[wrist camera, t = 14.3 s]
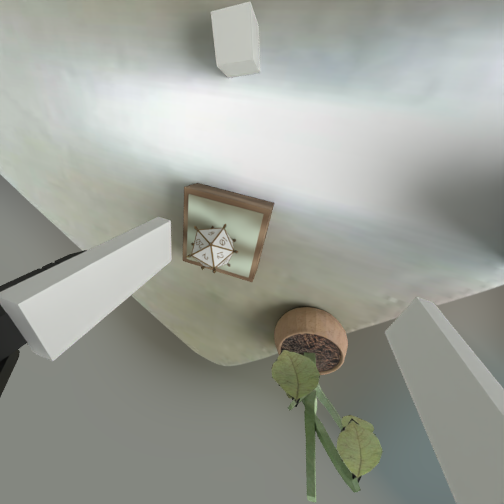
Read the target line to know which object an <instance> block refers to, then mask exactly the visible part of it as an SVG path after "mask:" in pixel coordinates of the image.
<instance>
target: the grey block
mask: <svg viewBox="0 0 504 504" xmlns="http://www.w3.org/2000/svg"><path fill="white" fill-rule="evenodd" d="M211 19H212V28H213V37H214V47H215V56H216V65H217V67H218V68H219V69H220V70H221V71H222V72H223V73H224V74H225V75H226V76H227V77H228V78H233V77H239V76H245V75H251V74H257V73H260V52H259V25H258V22H257V19H256V16H255V13H254V10H253V7H252V4H251V1H250V2H246V3H242V4H238V5H235V6H231V7H227V8H223V9H219V10H215V11H211Z"/></svg>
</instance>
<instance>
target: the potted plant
mask: <svg viewBox="0 0 504 504" xmlns="http://www.w3.org/2000/svg"><path fill="white" fill-rule="evenodd" d="M274 340H275V345H276V347H277V350H278V354H279V357H278V358H277V360H276V361H275V362H274V364H273V365H272V378H273V379H274V380H275V381H276V382H277V383H278V384H279V386H281V387H282V388H283V390H285V392H286V394H287V396H288V397H289V398H292V400H293V401H292V403H291V404H290V406H289V407H288V409H289V410H291V409H293V408H294V407H297V405H298V403H299V402H301V401H302V402H303V404H304V405H305V433H306V476H307V500H309V501H312V502H316V480H315V479H316V478H315V431H316V432H317V435H318V437H319V439H320V441H321V443H322V445H323V446H324V448H325V450H326V452H327V454H328V456H329V457H330V459H331V461H332V463H333V464H334V466H335V468H336V469H337V471H338V472H339V474H340V475H341V477H342V478H343V480H344V481H345V482H346V484H347V485H348V486H349V487H350V488H351V489H352V491H353V492H358V491H360V487H359V484H358V483H359V480H360V478H361V476H362V475H364V474H366V473H368V472H370V471H371V470H372V469H373V468H374V467H375V466H376V465H377V464H378V463H379V460H380V458H381V455H382V448H381V446H380V443H379V440H378V438H377V437H376V435H375V434H374V433H372V432H373V431H374V428H373V425H372V424H370V423H368V422H367V421H365V420H362V419H360V418H357V417H354V416H352V415H348V416H344V417H342V419H341V417H340V416H339V414H338V413H337V411H336V410H335V408H334V407H333V405H332V404H331V402H330V401H329V400H328V399H327V398H326V396H325V395H324V393H323V391H322V389H321V388H320V386H319V384H318V381H319V377H320V375H324V374H329V373H331V372H334V371H336V370H337V369H339V368H340V367H341V365H342V364H343V362H344V358H345V355H346V351H347V346H348V341H347V336H346V332H345V330H344V329H343V327H342V325H341V324H340V322H339V321H338V320H337V319H336V318H334V317H333V316H332V315H331V314H329V313H327V312H325V311H324V310H320V309H317V308H311V307H302V308H296V309H293V310H290V311H288V312H287V313H285V314H284V315H283V316H282V317H281V318H280V320H279V321H278V322H277V325H276V328H275V331H274ZM316 396H317V397H318V399H319V400H320V401H321V403H322V404H323V405H324V406H325V407H326V408H327V410H328V411H329V413H330V414H331V416H332V417H333V419H334V420H335V422H336V423H337V424H338V426H339V427H340V429H341V433H340V434H339V436H338V441H337V450H336V448H335V447H334V445H333V443H332V441H331V439H330V437H329V435H328V433H327V432H326V430H325V428H324V426H323V424H322V423H321V422H320V420H319V419H318V417H317V416H316V410H317V400H316ZM337 451H338V452H337ZM338 453H339V454H340V455H339V454H338ZM340 456H341V457H340ZM343 461H344V462H343ZM344 463H345V464H346V465H345V464H344ZM347 467H348V468H349V469H348V468H347ZM349 470H350V471H351V472H352V473H351V472H350V471H349Z"/></svg>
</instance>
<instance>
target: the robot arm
mask: <svg viewBox="0 0 504 504" xmlns="http://www.w3.org/2000/svg"><path fill="white" fill-rule="evenodd" d="M170 261H171V220H168V219H164V218H161V217H157V218H154V219H152V220H150V221H148V222H146V223H144V224H142V225H140V226H138V227H136V228H133V229H131V230H129V231H127V232H125V233H123V234H121V235H119V236H117V237H115V238H112V239H110V240H108V241H106V242H104V243H102V244H100V245H98V246H96V247H94V248H92V249H89V250H85V251H81V252H77V253H73V254H70V255H67V256H65V257H63V258H61V259H58V260H56V261H55V263H50V264H48V265H45V266H43V267H42V269H37V270H34V271H32V272H30V273H28V274H26V275H23V276H21V277H19V278H17V279H15V280H13V281H10V282H8V283H6V284H4V285H2V286H0V397H1V394H2V392H3V390H4V388H5V386H6V384H7V382H8V379H9V377H10V375H11V373H12V371H13V368H14V366H15V364H16V362H17V360H18V357H19V353H20V352H19V350H18V349H19V348H20V347H21V346H23V345H24V344H26V343H27V344H28V345H29V347H30V348H31V350H32V351H33V353H35V354H37V355H40V356H42V357H44V358H46V359H49V360H51V361H54V360H55V359H56V358H57V357H58V356H60V355H61V354H62V353H63V352H64V351H66V349H68V348H69V347H70V346H71V345H73V344H74V343H75V342H76V341H77V340H78V339H80V338H81V337H82V336H83V335H84V334H85V333H87V332H88V331H89V330H90V329H91V328H93V327H94V326H95V325H96V324H97V323H98V322H100V321H101V320H102V319H103V318H104V317H105V316H107V315H108V314H109V313H110V312H111V311H113V310H114V309H115V308H116V307H117V306H118V305H120V304H121V303H122V302H123V301H124V300H126V299H127V298H128V297H129V296H130V295H132V294H133V293H134V292H135V291H136V290H137V289H139V288H140V287H141V286H142V285H143V284H144V283H146V282H147V281H148V280H149V279H150V278H152V277H153V276H154V275H155V274H156V273H157V272H159V271H160V270H161V269H162V268H163V267H165V266H166V265H167V264H168V263H169V262H170ZM385 334H386V336H387V339H388V341H389V344H390V346H391V349H392V351H393V353H394V356H395V358H396V361H397V363H398V365H399V368H400V370H401V372H402V374H403V377H404V380H405V382H406V384H407V387H408V389H409V392H410V394H411V396H412V399H413V401H414V404H415V406H416V408H417V411H418V413H419V416H420V418H421V420H422V423H423V425H424V427H425V430H426V432H427V434H428V437H429V439H430V442H431V444H432V447H433V449H434V451H435V454H436V456H437V459H438V461H439V463H440V466H441V468H442V470H443V473H444V475H445V477H446V480H447V482H448V485H449V487H450V490H451V492H452V494H453V497H454V499H455V501H456V504H504V389H503V388H502V386H501V385H500V384H499V383H498V381H497V380H496V379H495V378H494V376H493V375H492V374H491V373H490V372H489V370H488V369H487V368H486V367H485V366H484V364H483V363H482V362H481V361H480V359H479V358H478V357H477V355H476V354H475V353H474V352H473V351H472V349H471V348H470V347H469V346H468V344H467V343H466V342H465V341H464V340H463V338H462V337H461V336H460V335H459V333H458V332H457V331H456V330H455V328H454V327H453V326H452V325H451V323H450V322H449V321H448V320H447V318H446V317H445V316H444V315H443V314H442V312H441V311H440V310H439V309H438V308H437V306H436V305H435V304H434V302H431V301H428V300H425V299H421V298H418V297H416V298H415V299H414V300H413V302H412V303H411V304H410V305H409V306H408V307H407V308H406V309H405V310H404V311H403V312H402V314H401V315H400V316H399V317H398V318H397V319H396V320H395V321H394V323H392V325H391V326H390V327H389V328H388V329H387V330H386V331H385Z"/></svg>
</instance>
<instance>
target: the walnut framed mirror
mask: <svg viewBox="0 0 504 504" xmlns="http://www.w3.org/2000/svg"><path fill="white" fill-rule="evenodd" d="M273 206H274V203H272V202H268V201H265V200H261V199H257V198H253V197H249V196H245V195H241V194H238V193H234V192H230V191H226V190H222V189H218V188H215V187H211V186H207V185H203V184H199V183H196V184H192V185H189V186H186V187H184V225H183V261H185V262H188V263H191V264H195V265H198V266H201V267H202V266H203V265H202V264H200V263H199V262H198V261H197V260H196V259H195V258H193V257H192V256H191V257H190V258H188V257H187V255H189V254H190V255H191V253H192V249H193V245H191V243H192V242H193V243H194V241H195V237H196V233H197V230H195V229H194V226H196V227H197V228H198V229H210V228H211V227H212V226H213V227H214V228H223V226H224V224H226V228H225V230H226V231H227V233H228V234H229V236H230V237H231V239H232V240H233V239H236V242H233V245H234V250H237V251H238V253H237V254H236V253H233V255H232V257H231V259H230V261H229V264H230V267H228V266H227V264H226V265H223V266H221V267H218V268H215V269H216V271H217V272H221V273H224V274H227V275H230V276H234V277H237V278H240V279H243V280H247V281H250V282H253V279H254V276H255V274H256V271H257V268H258V264H259V260H260V256H261V252H262V249H263V245H264V241H265V237H266V233H267V229H268V225H269V221H270V218H271V214H272V210H273ZM205 268H208V269H211V270H213V268H209V267H205Z"/></svg>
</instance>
